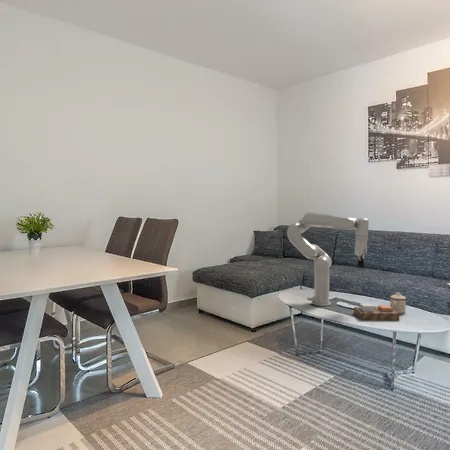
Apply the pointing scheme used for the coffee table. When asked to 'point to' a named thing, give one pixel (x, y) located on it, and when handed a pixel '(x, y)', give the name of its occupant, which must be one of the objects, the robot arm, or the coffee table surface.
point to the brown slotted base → (376, 314)
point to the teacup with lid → (398, 303)
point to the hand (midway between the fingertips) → (360, 266)
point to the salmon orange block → (385, 308)
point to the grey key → (366, 307)
